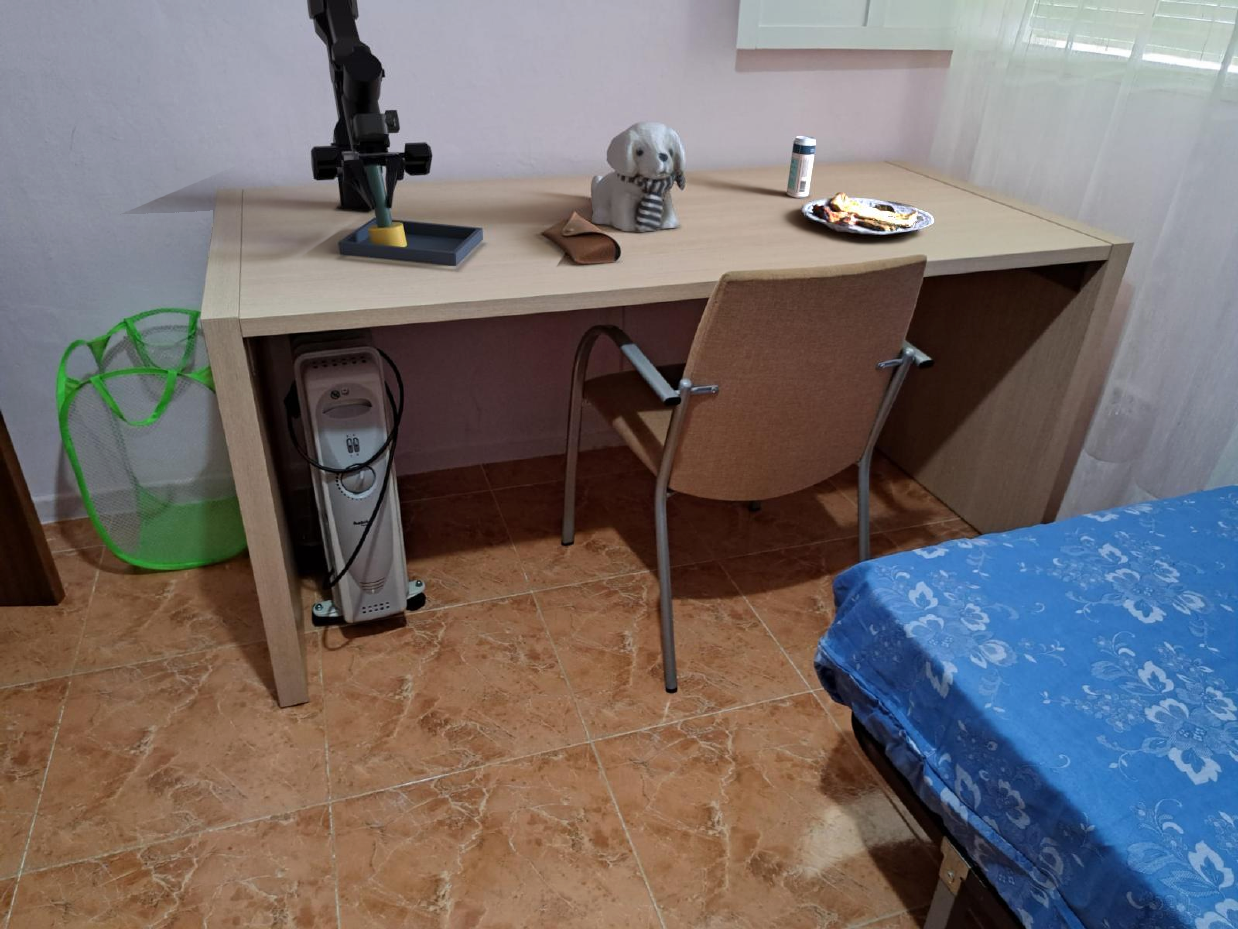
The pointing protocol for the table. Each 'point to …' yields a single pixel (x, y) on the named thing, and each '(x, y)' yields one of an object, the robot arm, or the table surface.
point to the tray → (417, 243)
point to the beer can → (801, 166)
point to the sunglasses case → (583, 241)
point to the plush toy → (640, 179)
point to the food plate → (865, 215)
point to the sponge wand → (383, 212)
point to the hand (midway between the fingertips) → (381, 207)
